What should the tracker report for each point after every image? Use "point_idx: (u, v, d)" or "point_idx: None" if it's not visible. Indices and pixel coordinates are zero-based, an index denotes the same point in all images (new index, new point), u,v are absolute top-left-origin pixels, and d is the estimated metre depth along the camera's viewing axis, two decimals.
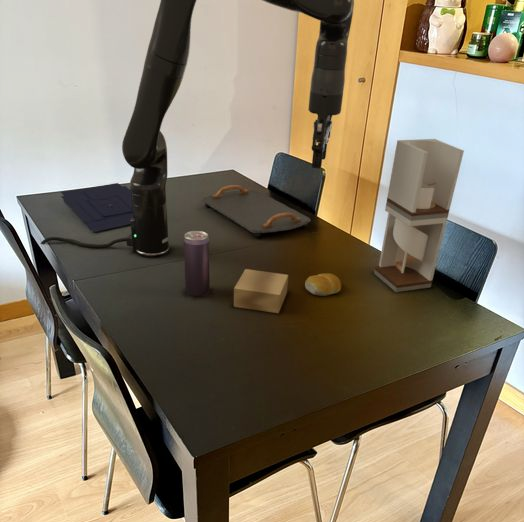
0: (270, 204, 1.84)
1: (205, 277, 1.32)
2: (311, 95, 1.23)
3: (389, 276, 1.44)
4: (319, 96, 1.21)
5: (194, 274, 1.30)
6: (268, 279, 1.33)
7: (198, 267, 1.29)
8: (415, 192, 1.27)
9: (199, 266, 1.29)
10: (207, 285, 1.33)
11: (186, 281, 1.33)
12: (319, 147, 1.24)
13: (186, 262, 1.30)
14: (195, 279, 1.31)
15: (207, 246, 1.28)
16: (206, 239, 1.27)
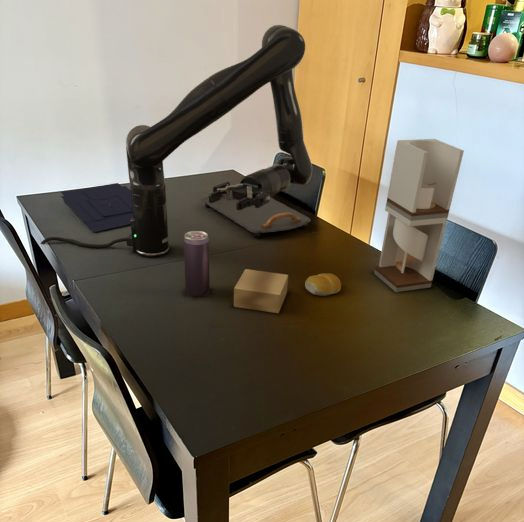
0: (270, 204, 1.84)
1: (205, 277, 1.32)
2: (265, 176, 1.41)
3: (389, 276, 1.44)
4: (270, 184, 1.41)
5: (194, 274, 1.30)
6: (268, 279, 1.33)
7: (198, 267, 1.29)
8: (415, 192, 1.27)
9: (199, 266, 1.29)
10: (207, 285, 1.33)
11: (186, 281, 1.33)
12: (259, 204, 1.34)
13: (186, 262, 1.30)
14: (195, 279, 1.31)
15: (207, 246, 1.28)
16: (206, 239, 1.27)
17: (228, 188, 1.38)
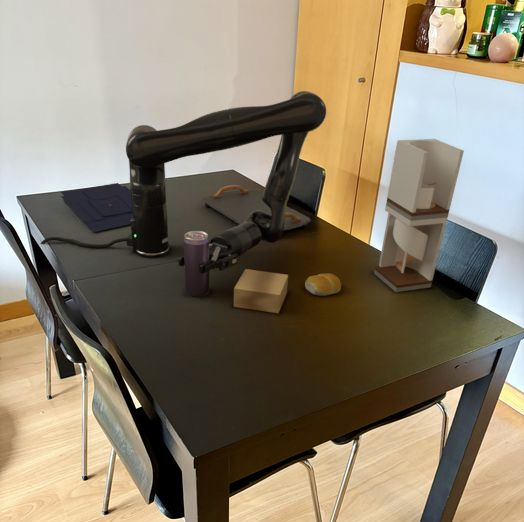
0: None
1: (205, 277, 1.32)
2: (235, 236, 1.39)
3: (389, 276, 1.44)
4: (240, 244, 1.39)
5: (194, 274, 1.30)
6: (268, 279, 1.33)
7: (198, 267, 1.29)
8: (415, 192, 1.27)
9: (199, 266, 1.29)
10: (207, 285, 1.33)
11: (186, 281, 1.33)
12: (223, 267, 1.31)
13: (186, 262, 1.30)
14: (195, 279, 1.31)
15: (207, 246, 1.28)
16: (206, 239, 1.27)
17: None
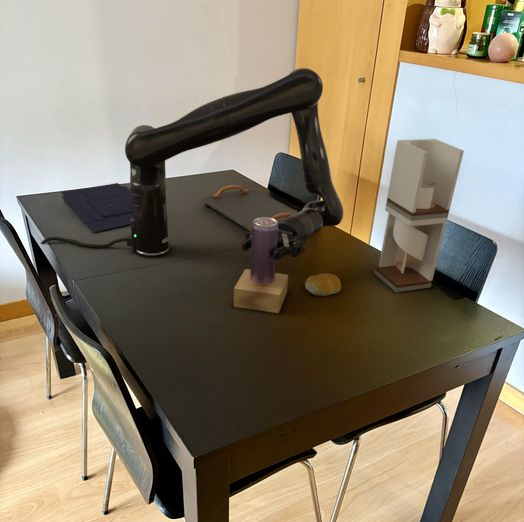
0: (270, 204, 1.84)
1: (273, 265, 1.27)
2: (300, 222, 1.34)
3: (389, 276, 1.44)
4: (305, 231, 1.34)
5: (261, 261, 1.26)
6: None
7: (267, 255, 1.25)
8: (415, 192, 1.27)
9: (268, 253, 1.25)
10: (273, 273, 1.29)
11: (252, 269, 1.28)
12: (296, 253, 1.27)
13: (254, 249, 1.25)
14: (263, 267, 1.26)
15: (276, 232, 1.24)
16: (276, 225, 1.23)
17: None
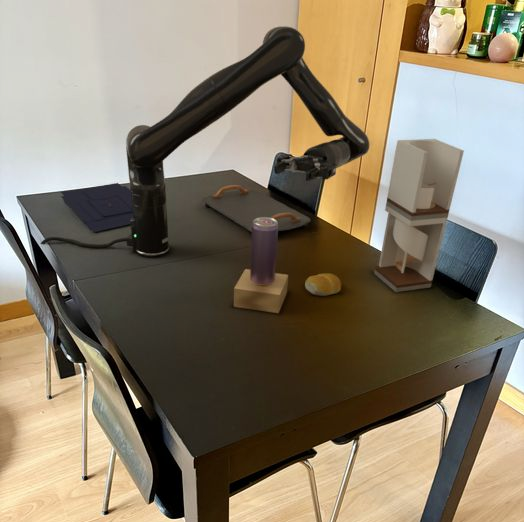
0: (270, 204, 1.84)
1: (273, 265, 1.27)
2: (329, 148, 1.37)
3: (389, 276, 1.44)
4: (334, 157, 1.37)
5: (261, 261, 1.26)
6: None
7: (267, 255, 1.25)
8: (415, 192, 1.27)
9: (268, 253, 1.25)
10: (273, 273, 1.29)
11: (252, 269, 1.28)
12: (327, 175, 1.29)
13: (254, 249, 1.25)
14: (263, 267, 1.26)
15: (276, 232, 1.24)
16: (276, 225, 1.23)
17: (293, 159, 1.33)
